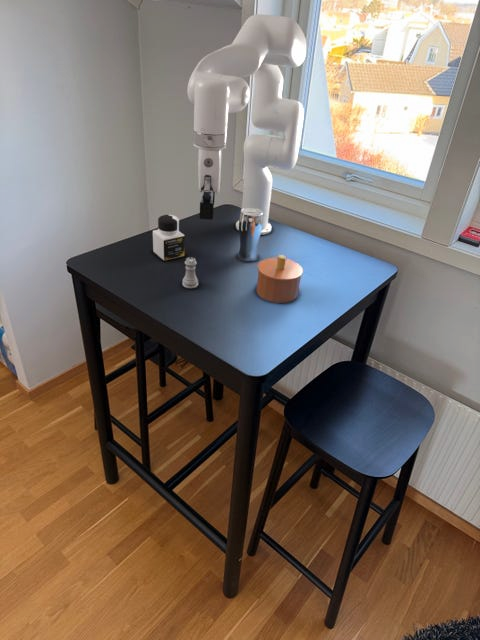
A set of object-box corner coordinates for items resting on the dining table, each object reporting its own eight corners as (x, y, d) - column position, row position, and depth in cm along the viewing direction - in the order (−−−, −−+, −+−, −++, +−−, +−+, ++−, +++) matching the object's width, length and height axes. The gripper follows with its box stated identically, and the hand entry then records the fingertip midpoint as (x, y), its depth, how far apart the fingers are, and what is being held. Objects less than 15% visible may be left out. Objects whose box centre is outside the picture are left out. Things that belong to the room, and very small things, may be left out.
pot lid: (259, 258, 131) (260, 244, 129) (302, 263, 131) (304, 249, 128) (255, 279, 121) (257, 264, 119) (302, 285, 121) (305, 270, 118)
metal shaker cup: (256, 264, 143) (261, 217, 134) (234, 260, 143) (237, 213, 135) (260, 254, 148) (265, 209, 140) (238, 250, 149) (242, 205, 141)
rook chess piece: (186, 279, 132) (187, 254, 127) (201, 283, 130) (201, 257, 126) (179, 286, 128) (179, 260, 124) (194, 290, 127) (194, 264, 122)
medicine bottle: (164, 261, 140) (163, 223, 133) (152, 251, 144) (151, 214, 137) (184, 256, 143) (185, 219, 136) (173, 247, 148) (173, 210, 141)
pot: (258, 279, 135) (260, 257, 131) (297, 284, 134) (301, 262, 130) (255, 300, 125) (257, 277, 121) (297, 305, 125) (301, 282, 121)
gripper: (226, 150, 100) (221, 226, 109) (226, 132, 114) (222, 200, 124) (190, 147, 99) (189, 223, 109) (195, 129, 114) (194, 198, 123)
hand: (207, 211), depth 116 cm, fingers open, 9 cm apart
